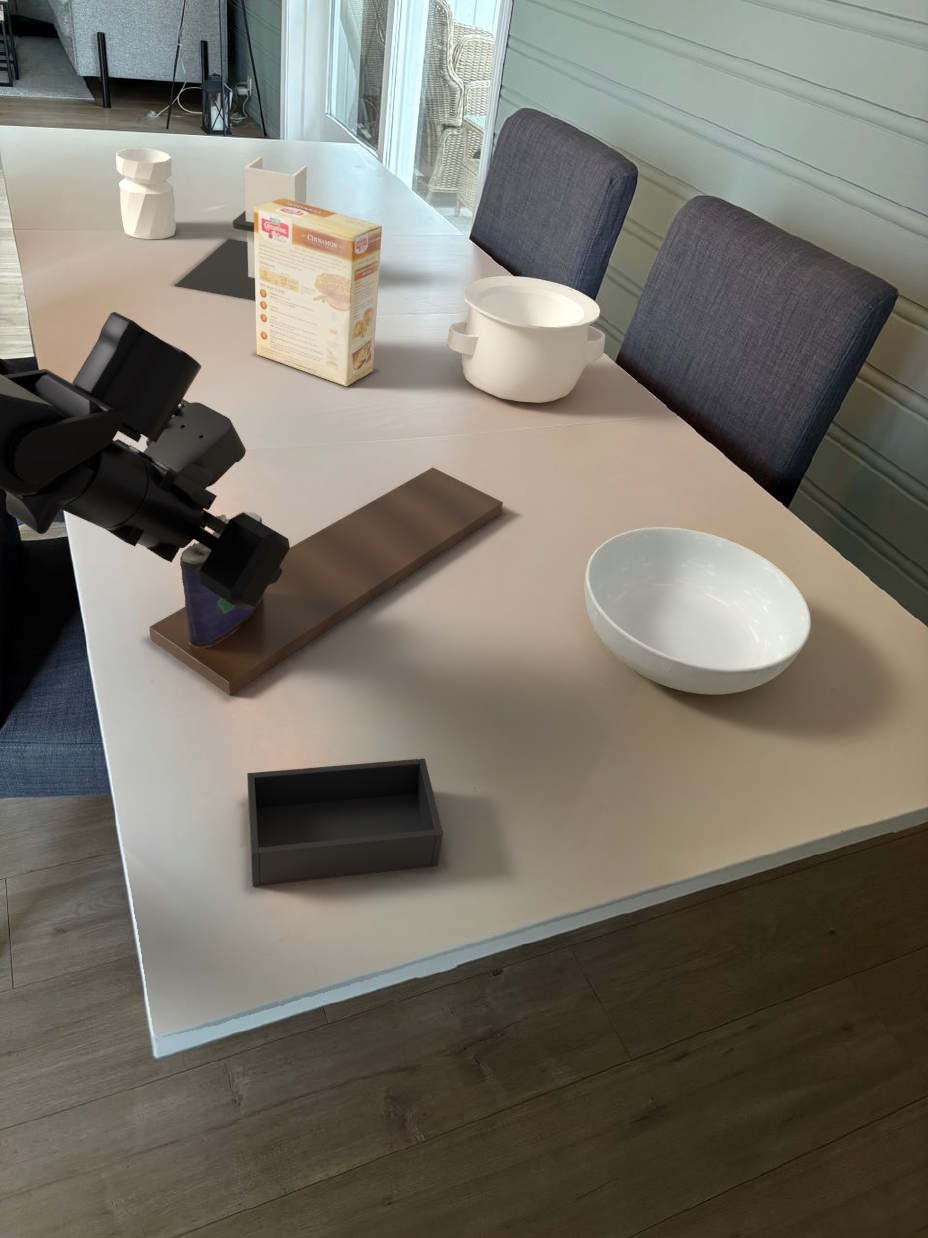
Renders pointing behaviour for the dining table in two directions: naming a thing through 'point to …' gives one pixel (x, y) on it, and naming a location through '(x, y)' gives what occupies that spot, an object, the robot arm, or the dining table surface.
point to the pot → (526, 337)
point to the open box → (342, 821)
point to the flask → (208, 600)
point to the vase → (146, 193)
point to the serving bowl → (694, 610)
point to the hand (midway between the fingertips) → (239, 551)
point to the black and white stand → (236, 259)
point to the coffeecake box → (316, 289)
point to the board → (336, 575)
